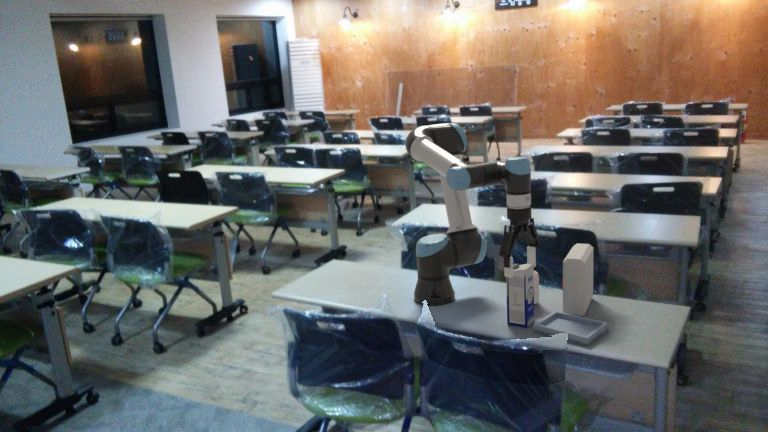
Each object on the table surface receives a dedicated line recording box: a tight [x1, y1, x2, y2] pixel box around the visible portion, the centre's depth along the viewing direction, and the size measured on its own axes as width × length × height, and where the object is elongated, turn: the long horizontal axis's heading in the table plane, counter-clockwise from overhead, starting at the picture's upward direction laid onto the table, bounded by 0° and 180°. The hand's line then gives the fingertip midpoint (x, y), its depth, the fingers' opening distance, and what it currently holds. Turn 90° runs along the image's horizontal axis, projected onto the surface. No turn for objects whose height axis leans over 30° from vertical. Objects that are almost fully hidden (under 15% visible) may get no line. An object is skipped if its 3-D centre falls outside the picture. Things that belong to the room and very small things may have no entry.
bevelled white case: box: [561, 243, 595, 317], centre depth 212 cm, size 21×8×20 cm, turn 154°
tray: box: [532, 310, 609, 347], centre depth 194 cm, size 18×14×2 cm
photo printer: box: [534, 270, 540, 305], centre depth 217 cm, size 10×4×12 cm, turn 123°
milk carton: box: [505, 263, 535, 329], centre depth 201 cm, size 7×7×20 cm
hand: (520, 271), depth 199 cm, fingers open, 13 cm apart
